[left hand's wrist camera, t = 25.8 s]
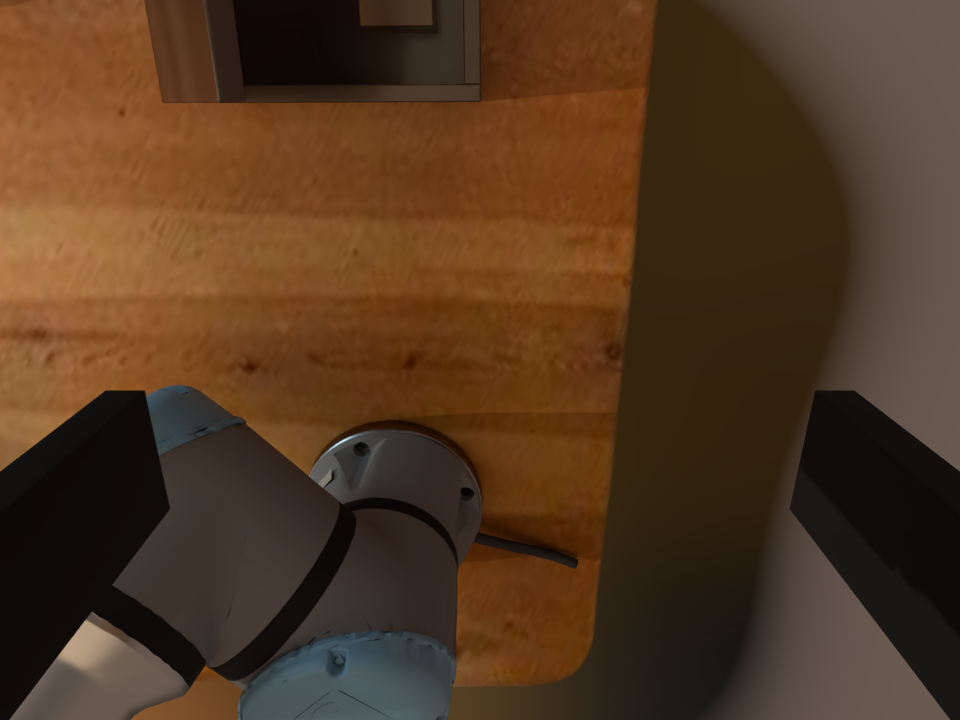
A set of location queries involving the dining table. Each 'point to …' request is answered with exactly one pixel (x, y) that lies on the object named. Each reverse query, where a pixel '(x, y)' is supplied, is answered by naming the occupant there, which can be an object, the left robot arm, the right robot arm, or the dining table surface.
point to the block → (398, 16)
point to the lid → (196, 51)
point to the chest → (355, 54)
